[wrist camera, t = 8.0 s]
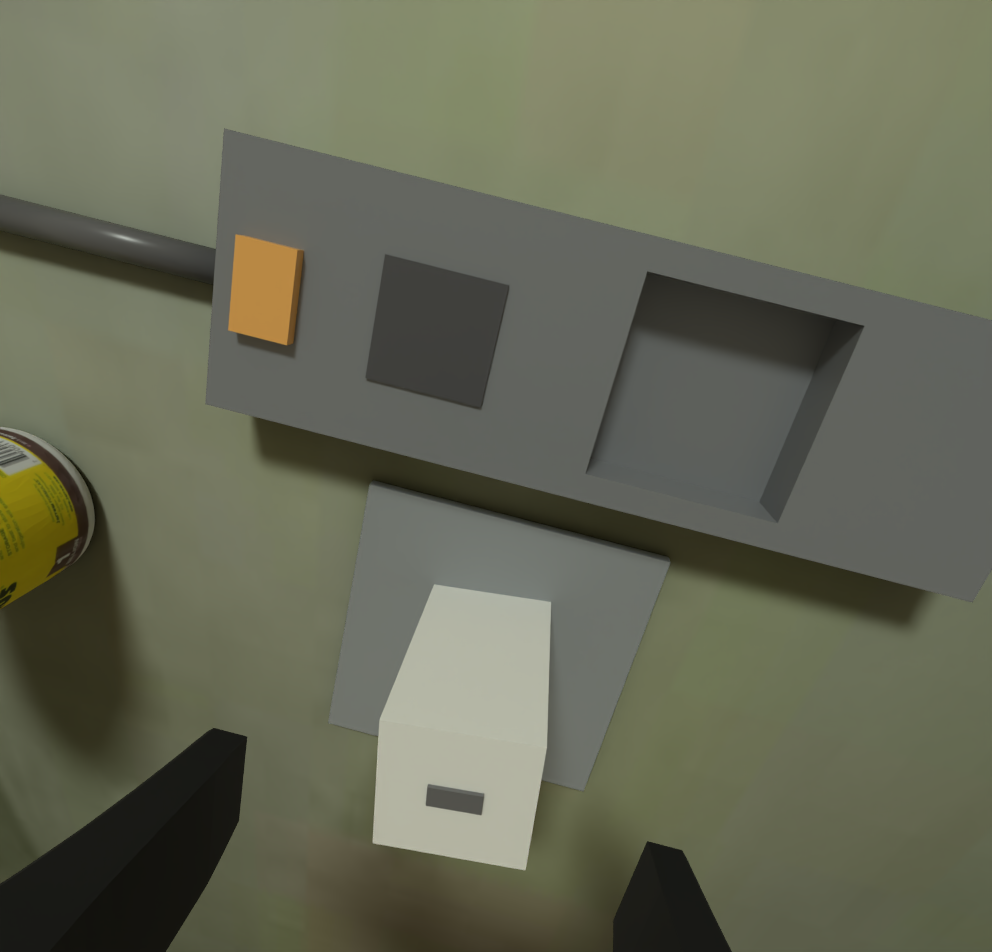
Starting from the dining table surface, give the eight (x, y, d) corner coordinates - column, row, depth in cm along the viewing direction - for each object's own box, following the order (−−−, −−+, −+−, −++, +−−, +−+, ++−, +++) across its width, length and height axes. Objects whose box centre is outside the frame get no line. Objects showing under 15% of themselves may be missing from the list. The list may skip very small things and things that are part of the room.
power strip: (1043, 340, 16) (1136, 354, 14) (922, 562, 19) (981, 610, 16) (-37, 71, 17) (-147, 34, 14) (-21, 319, 19) (-113, 326, 17)
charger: (551, 602, 20) (546, 750, 14) (535, 698, 21) (525, 874, 15) (434, 584, 20) (378, 722, 14) (425, 681, 22) (371, 846, 15)
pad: (668, 556, 20) (670, 562, 19) (583, 782, 23) (583, 791, 23) (373, 480, 20) (369, 484, 19) (332, 715, 23) (327, 722, 23)
